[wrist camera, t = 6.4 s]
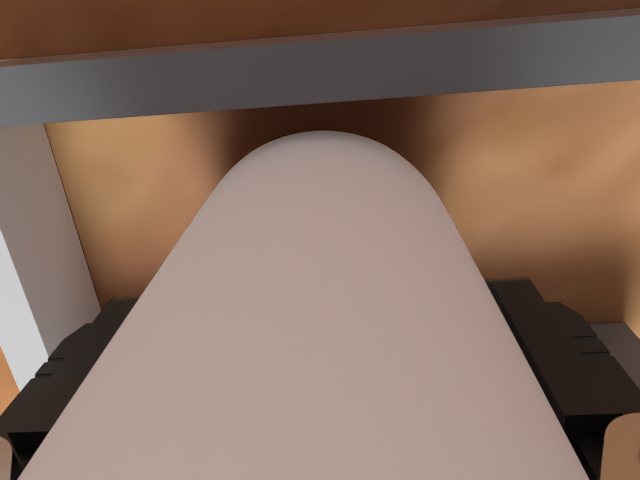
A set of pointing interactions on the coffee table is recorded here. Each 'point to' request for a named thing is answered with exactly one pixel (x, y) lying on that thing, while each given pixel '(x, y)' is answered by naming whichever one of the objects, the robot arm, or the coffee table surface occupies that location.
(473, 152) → the coffee table surface
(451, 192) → the coffee table surface
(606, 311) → the coffee table surface
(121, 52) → the frame
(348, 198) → the can
